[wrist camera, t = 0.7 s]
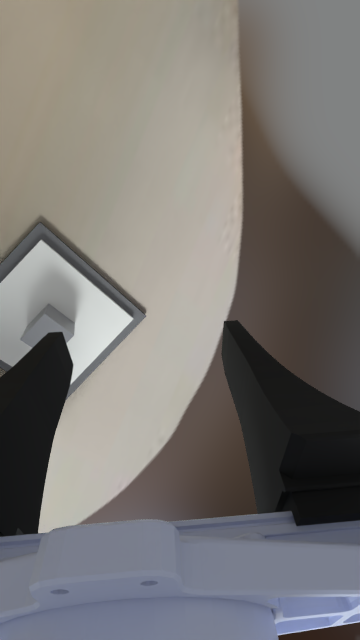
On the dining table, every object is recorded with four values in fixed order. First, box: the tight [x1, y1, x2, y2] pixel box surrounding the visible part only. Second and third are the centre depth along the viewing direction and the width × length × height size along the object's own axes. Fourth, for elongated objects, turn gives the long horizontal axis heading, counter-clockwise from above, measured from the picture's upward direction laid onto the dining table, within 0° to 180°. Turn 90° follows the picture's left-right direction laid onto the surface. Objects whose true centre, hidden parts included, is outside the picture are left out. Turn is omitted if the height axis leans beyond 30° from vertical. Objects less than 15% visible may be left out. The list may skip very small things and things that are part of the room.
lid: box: [0, 240, 133, 385], centre depth 27 cm, size 11×11×4 cm
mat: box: [0, 222, 146, 399], centre depth 29 cm, size 13×13×1 cm
